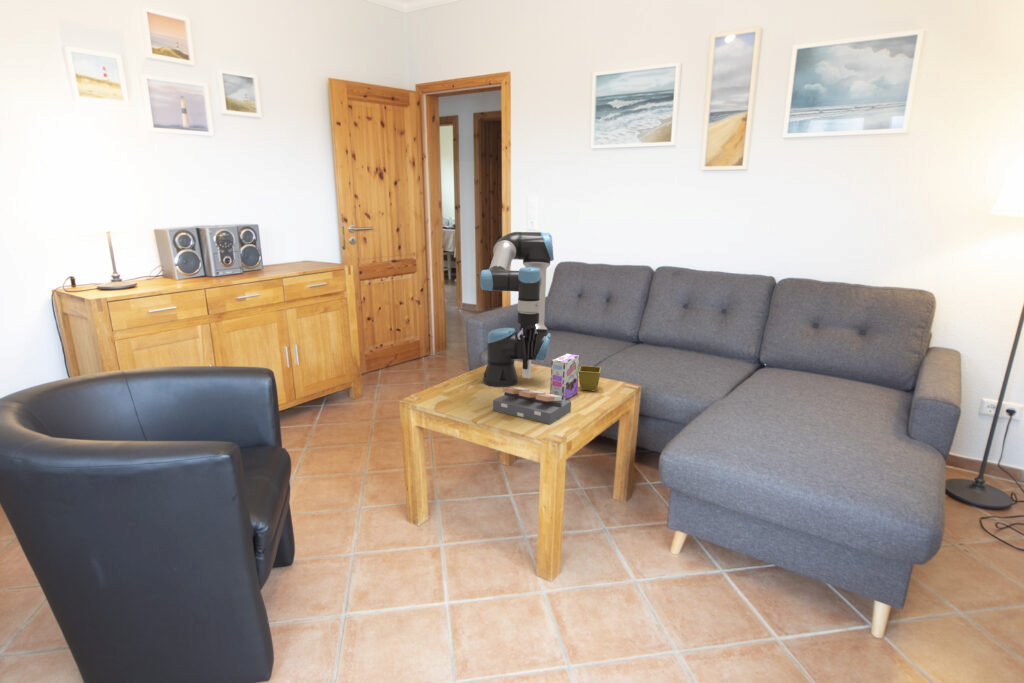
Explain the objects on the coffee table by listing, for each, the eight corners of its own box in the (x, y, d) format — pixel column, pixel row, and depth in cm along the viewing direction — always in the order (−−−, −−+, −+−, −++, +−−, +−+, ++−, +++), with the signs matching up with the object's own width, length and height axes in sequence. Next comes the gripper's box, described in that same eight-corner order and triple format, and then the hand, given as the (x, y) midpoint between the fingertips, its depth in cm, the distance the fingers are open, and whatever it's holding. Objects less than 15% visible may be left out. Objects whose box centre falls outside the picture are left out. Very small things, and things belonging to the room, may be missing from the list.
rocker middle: (518, 395, 202) (519, 390, 202) (534, 394, 212) (535, 390, 212) (529, 397, 199) (529, 393, 199) (544, 397, 210) (545, 392, 210)
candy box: (562, 402, 217) (564, 362, 213) (549, 400, 220) (550, 359, 216) (578, 393, 228) (579, 354, 225) (565, 391, 231) (566, 352, 228)
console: (492, 410, 207) (492, 396, 205) (515, 399, 220) (516, 385, 219) (549, 424, 194) (550, 409, 193) (570, 411, 207) (571, 397, 206)
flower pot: (598, 393, 229) (600, 372, 227) (577, 391, 231) (578, 370, 229) (599, 387, 238) (601, 366, 236) (579, 385, 240) (580, 365, 238)
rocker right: (535, 399, 198) (536, 394, 198) (550, 398, 208) (551, 394, 208) (546, 401, 196) (547, 396, 196) (561, 400, 206) (562, 396, 206)
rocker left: (502, 391, 205) (503, 387, 205) (519, 391, 216) (519, 387, 215) (512, 393, 203) (513, 389, 203) (528, 393, 213) (529, 389, 213)
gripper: (528, 315, 188) (526, 383, 193) (546, 311, 198) (544, 375, 203) (509, 313, 192) (507, 379, 196) (528, 308, 202) (526, 371, 207)
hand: (526, 377), depth 200 cm, fingers closed
